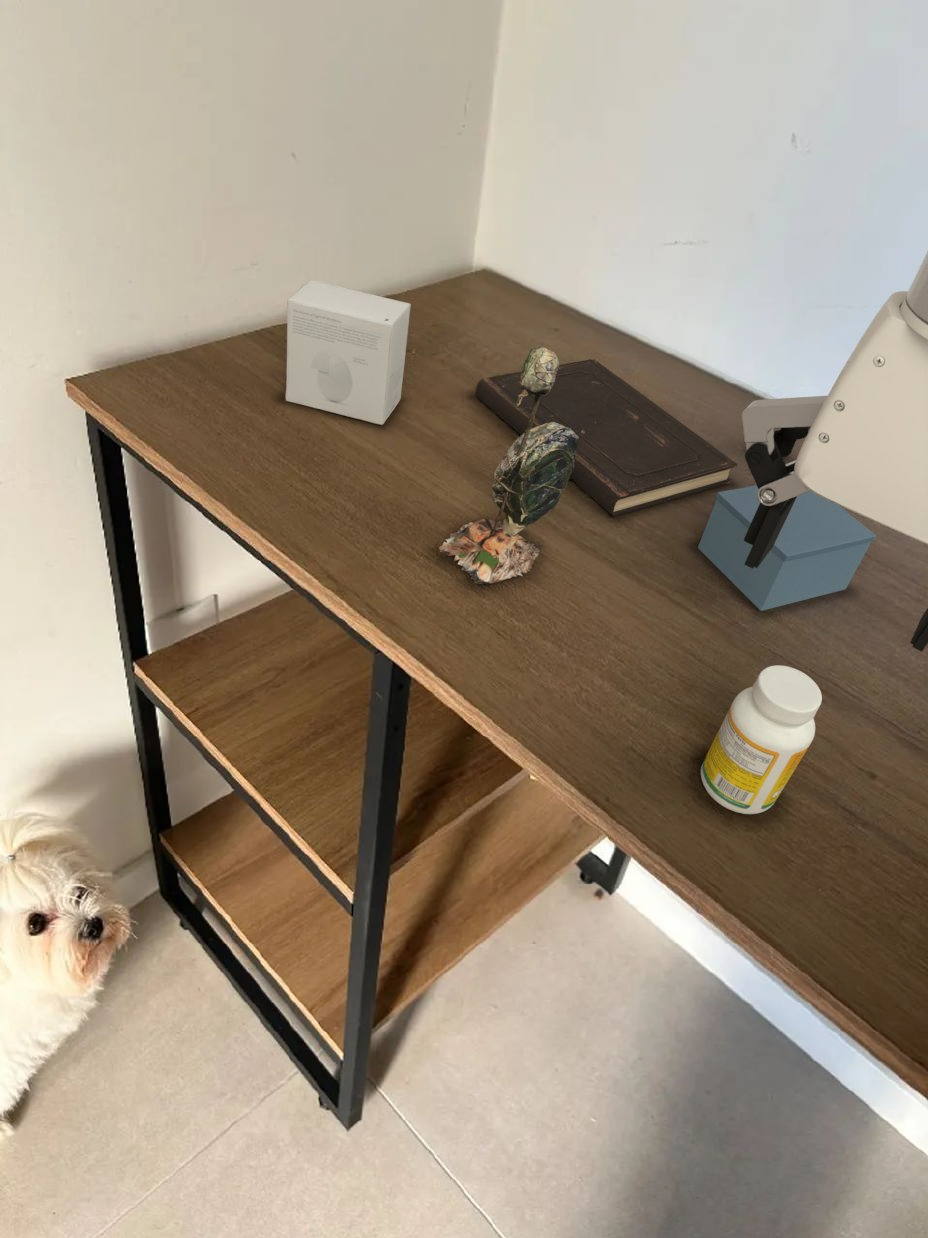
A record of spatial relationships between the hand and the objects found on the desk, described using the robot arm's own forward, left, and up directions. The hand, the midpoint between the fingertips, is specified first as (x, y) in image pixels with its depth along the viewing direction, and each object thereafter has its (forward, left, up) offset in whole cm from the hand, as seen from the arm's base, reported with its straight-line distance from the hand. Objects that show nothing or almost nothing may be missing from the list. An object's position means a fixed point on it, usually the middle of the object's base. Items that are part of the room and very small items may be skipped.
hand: (836, 595), depth 52 cm
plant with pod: (+28, +4, -17) cm, 33 cm away
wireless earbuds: (+34, -33, -17) cm, 50 cm away
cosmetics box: (+55, +8, -17) cm, 58 cm away
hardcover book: (+42, -15, -17) cm, 48 cm away
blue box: (+19, -19, -17) cm, 32 cm away
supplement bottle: (0, 0, -17) cm, 17 cm away
